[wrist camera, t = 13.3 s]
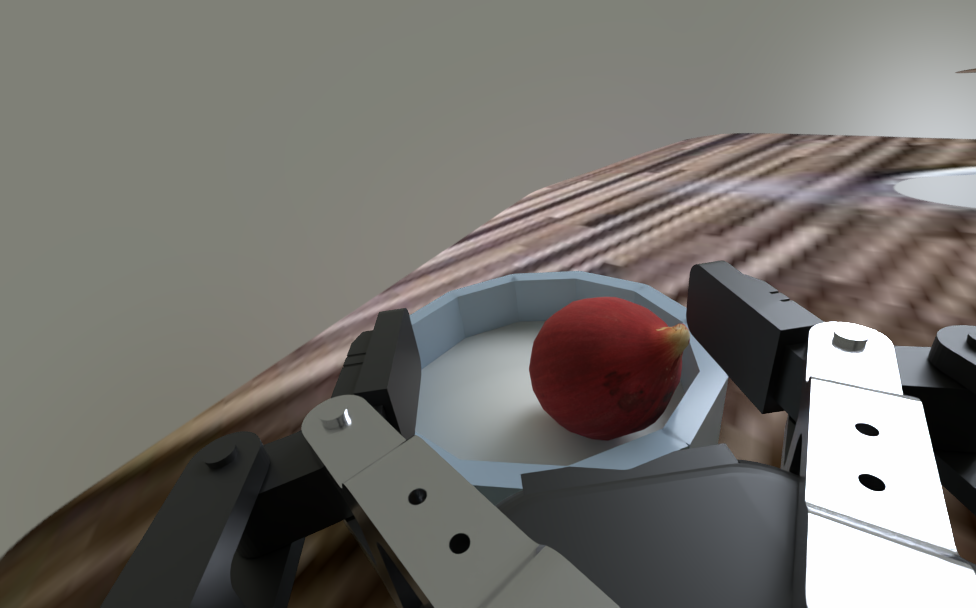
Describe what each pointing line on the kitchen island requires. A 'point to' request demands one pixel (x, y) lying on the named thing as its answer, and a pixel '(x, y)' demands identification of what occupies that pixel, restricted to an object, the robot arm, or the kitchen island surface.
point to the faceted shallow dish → (508, 390)
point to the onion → (606, 366)
